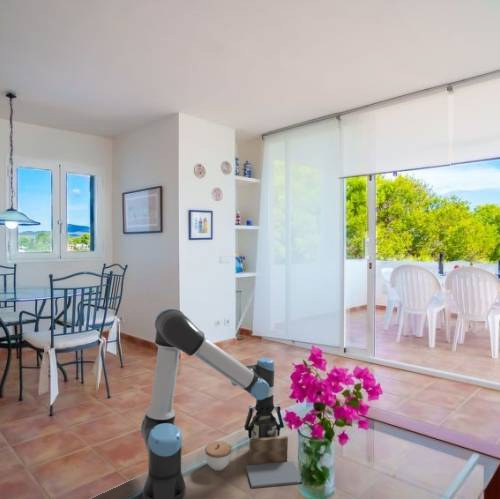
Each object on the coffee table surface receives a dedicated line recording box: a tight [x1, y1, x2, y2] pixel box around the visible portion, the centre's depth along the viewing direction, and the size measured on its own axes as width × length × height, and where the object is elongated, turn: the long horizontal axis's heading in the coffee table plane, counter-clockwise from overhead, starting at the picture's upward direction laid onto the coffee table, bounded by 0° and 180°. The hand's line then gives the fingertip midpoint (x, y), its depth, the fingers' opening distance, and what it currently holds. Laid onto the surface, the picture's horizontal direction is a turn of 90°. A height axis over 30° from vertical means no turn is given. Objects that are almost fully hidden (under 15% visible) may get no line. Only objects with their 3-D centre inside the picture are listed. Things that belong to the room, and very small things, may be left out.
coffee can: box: [252, 415, 277, 439], centre depth 175 cm, size 10×10×14 cm
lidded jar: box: [204, 440, 233, 472], centre depth 163 cm, size 11×11×9 cm
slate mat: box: [245, 461, 299, 489], centre depth 158 cm, size 20×13×1 cm, turn 101°
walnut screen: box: [248, 435, 289, 465], centre depth 166 cm, size 16×2×10 cm, turn 101°
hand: (263, 443), depth 175 cm, fingers closed on coffee can, 10 cm apart
